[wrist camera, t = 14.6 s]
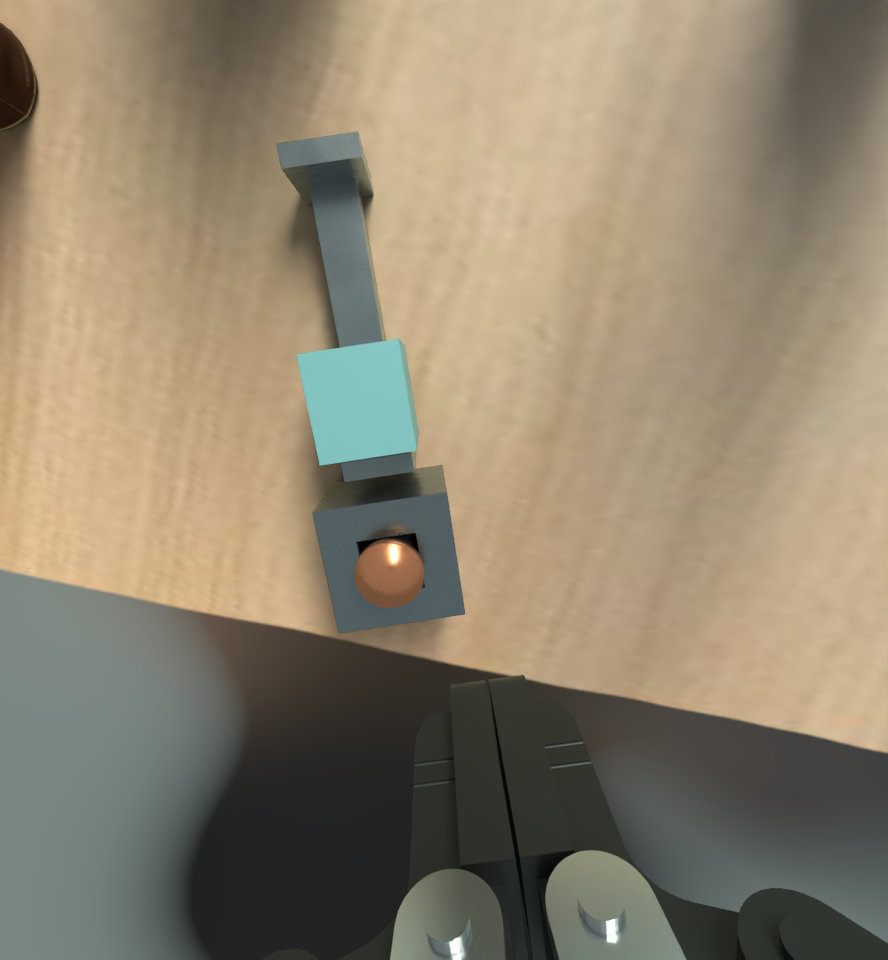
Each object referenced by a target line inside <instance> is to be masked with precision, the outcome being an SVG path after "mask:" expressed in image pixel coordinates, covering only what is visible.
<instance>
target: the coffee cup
mask: <svg viewBox="0 0 888 960" xmlns="http://www.w3.org/2000/svg"><path fill="white" fill-rule="evenodd" d="M35 94H36V79H35V73H34V70H33V67H32V64H31V61H30V59H29V56H28V54H27V52H26V50H25V48H24V46H23V45H22V43H21V42H20V41H19V40H18V38H17V37H16V36H15V35H14V34H13V32H12V31H11V30H9V29H8V28H7V27H5V26H4V25H3V24H2V23H0V130H5V129H10V128H12V127H14V126H16V125H18V124H19V123H20V122H22V121H23V120H24V119H26V118H27V117H28V115H29V114H30V111H31V108H32V105H33V102H34V98H35Z"/></svg>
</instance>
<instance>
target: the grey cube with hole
mask: <svg viewBox="0 0 888 960" xmlns="http://www.w3.org/2000/svg"><path fill="white" fill-rule="evenodd" d="M312 513H313V518H314V523H315V527H316V532H317V536H318V541H319V545H320V550H321V554H322V559H323V563H324V568H325V572H326V577H327V582H328V586H329V591H330V595H331V600H332V604H333V609H334V613H335V618H336V622H337V627H338V631H339V634H340V633H346V632H353V631H359V630H366V629H372V628H379V627H385V626H392V625H398V624H405V623H411V622H418V621H424V620H431V619H438V618H444V617H451V616H457V615H464V614H465V609H464V602H463V596H462V589H461V583H460V576H459V569H458V563H457V556H456V550H455V543H454V536H453V530H452V523H451V517H450V510H449V503H448V497H447V490H446V484H445V478H444V472H443V466H442V465H440V466H433V467H427V468H420V469H415V470H414V472H408V473H401V474H395V475H388V476H381V477H375V478H368V479H362V480H355V481H349V482H344V480H342V481H336V483H335V484H334V485H333V486H332V488H331V489H330V490H329V492H328V493H327V494H326V496H325V497H324V498H323V499H322V501H321V502H320V503H319V505H318V506H317V507H316V508H315V510H314V511H313V512H312ZM411 533H416V537H417V543H418V549H419V555H420V556H421V558H422V561H423V565H424V582H423V586H422V588H421V590H420V592H419V593H418V595H417V596H416V597H415V598H414V599H413V600H412V601H411V602H409V603H407V604H405V605H403V606H400V607H396V608H383V607H379V606H376V605H373V604H371V603H370V602H368V601H367V600H366V599H365V598H364V597H363V596H362V595H361V594H360V593H359V591H358V589H357V587H356V584H355V579H354V572H355V567H356V564H357V561H358V558H359V556H360V555H361V553H362V552H363V550H364V549H363V544H362V541H365V540H372V539H378V538H385V537H391V536H398V535H404V534H411Z"/></svg>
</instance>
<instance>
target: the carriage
mask: <svg viewBox="0 0 888 960" xmlns="http://www.w3.org/2000/svg"><path fill="white" fill-rule="evenodd" d="M296 356H297V360H298V365H299V370H300V375H301V379H302V384H303V389H304V393H305V398H306V403H307V408H308V412H309V417H310V422H311V427H312V431H313V436H314V441H315V445H316V450H317V455H318V460H319V464H320V466H321V465H327V464H334V463H340V462H347V461H354V460H360V459H367V458H373V457H380V456H386V455H393V454H399V453H406V452H413V451H417V444H418V434H419V431H418V425H417V419H416V413H415V407H414V400H413V394H412V388H411V382H410V376H409V369H408V363H407V357H406V351H405V345H404V344H403V343H402V342H401V341H400V340H399V339H394V340H387V341H381V342H374V343H368V344H361V345H355V346H348V347H341V348H335V349H328V350H322V351H315V352H309V353H302V354H296Z"/></svg>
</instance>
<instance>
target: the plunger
mask: <svg viewBox="0 0 888 960" xmlns="http://www.w3.org/2000/svg"><path fill="white" fill-rule="evenodd" d="M414 536H415V535H414V533H411V534H404V535H398V536H391V537H385V538H378V539H376V542H374V543H372V544H370V545H369V546H367V547H366V548H365V549H364V550H363V552H362V553H361V555H360V556H359V558H358V561H357V564H356V567H355V572H354V579H355V584H356V587H357V589H358V591H359V593H360V594H361V595H362V596H363V597H364V598H365V599H366V600H367V601H368V602H370V603H371V604H373V605H376V606H379V607H383V608H396V607H400V606H403V605H405V604H407V603H409V602H411V601H412V600H413V599H414V598H415V597H416V596H417V595H418V593H419V592H420V590H421V588H422V586H423V582H424V565H423V561H422V558H421V556H420V555H419V553H418V552H417V550H416V549H415V548H414Z"/></svg>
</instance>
